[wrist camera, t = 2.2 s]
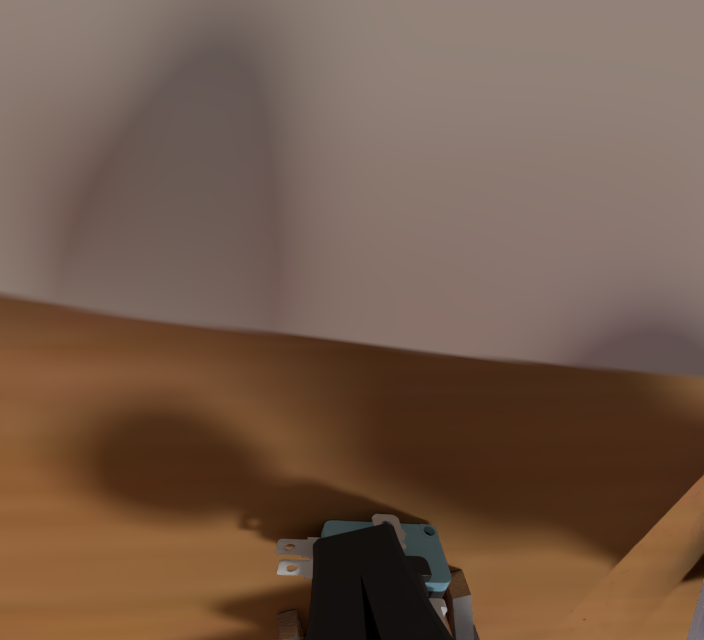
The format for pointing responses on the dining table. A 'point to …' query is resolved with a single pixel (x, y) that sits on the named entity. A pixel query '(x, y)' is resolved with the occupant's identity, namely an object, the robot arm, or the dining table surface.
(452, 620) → the grey l-shaped bracket
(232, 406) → the dining table surface
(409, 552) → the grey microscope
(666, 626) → the dining table surface
